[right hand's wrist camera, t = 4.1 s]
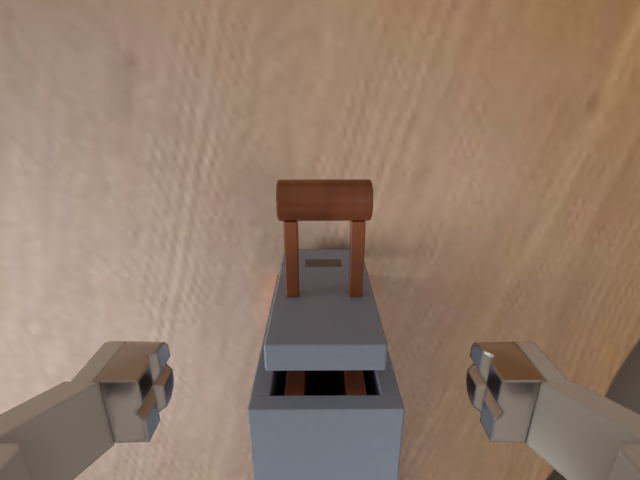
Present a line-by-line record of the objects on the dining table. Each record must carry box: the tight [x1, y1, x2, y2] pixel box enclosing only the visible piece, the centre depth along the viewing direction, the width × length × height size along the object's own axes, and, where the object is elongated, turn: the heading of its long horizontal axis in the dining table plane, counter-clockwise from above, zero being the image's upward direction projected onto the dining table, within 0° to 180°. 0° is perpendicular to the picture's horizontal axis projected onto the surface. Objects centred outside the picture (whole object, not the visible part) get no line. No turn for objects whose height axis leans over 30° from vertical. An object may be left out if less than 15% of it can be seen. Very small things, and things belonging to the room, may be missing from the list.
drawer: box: [264, 180, 387, 396], centre depth 21 cm, size 24×5×10 cm, turn 0°
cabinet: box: [247, 276, 404, 480], centre depth 23 cm, size 20×6×11 cm, turn 0°
